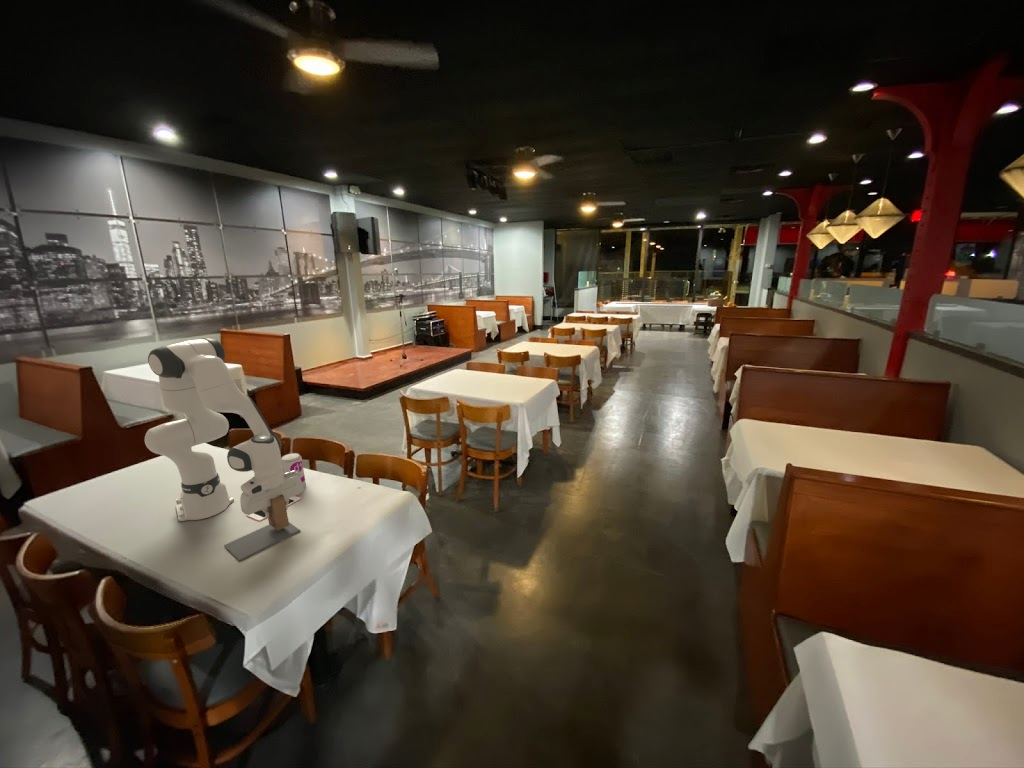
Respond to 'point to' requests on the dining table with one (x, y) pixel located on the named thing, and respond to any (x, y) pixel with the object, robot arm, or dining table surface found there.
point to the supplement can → (293, 465)
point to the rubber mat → (259, 540)
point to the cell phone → (261, 515)
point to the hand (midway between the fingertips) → (276, 513)
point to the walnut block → (278, 513)
